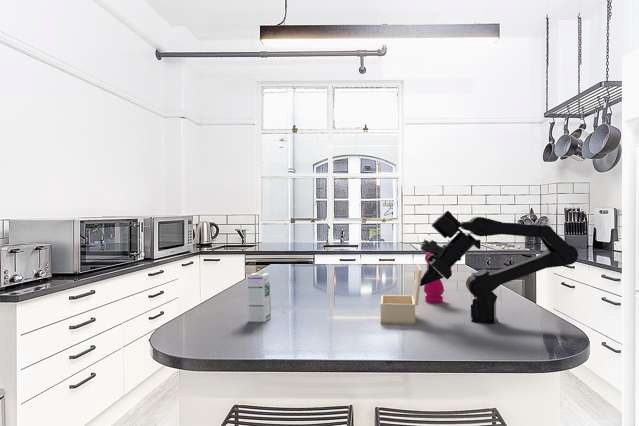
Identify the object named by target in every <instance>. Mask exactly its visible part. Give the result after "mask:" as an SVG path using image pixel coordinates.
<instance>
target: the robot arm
mask: <svg viewBox="0 0 639 426" xmlns="http://www.w3.org/2000/svg"><path fill="white" fill-rule="evenodd" d="M431 227H432V228H433V229H434V230H435V231H436V232H437V233H439V234H440V235H441V237H443V238H444V239H446V238H449V239H451V238H452V239H451V240H450V241H449V242H448V243H447V244H443V245H442V246H440V245H438V242H437V241H435V240H433V239H431V240H426V239H424V240H423V242H422V244H421V246H420V250H421V251H424V252H426V253H428V252H429V253H431V255H430V256H429V257H428V258H427V259H428V260H429V261H430V263H429V262H428V261H427V262H426V271H425V272H424V273H423V275H422V276H421V282H420V287H422V286H423V287H424V285H426V284H428V283H431V282H433V281H436V280H439V279H440V280H441V279H444V278H445V279H446V280H449V279H450V278H451V277H452V275H453V270H452V267H453V266H455V264H457V262H460V261H462V258H463V256H465V254H467V253H468V252H469V250H470V249H472V247H475V248H476V249H478V250H480V249H481V239H476V238H475V237H474V236H476V237H477V236H478V237H489V236H498V235H500V236H501V235H507V236H516V237H517V236H518V237H531V238H538V239H540V241H541V242H542V244H543V245H544V247H545V248H546V249H545V250H543V251H542V252H541V253H540V254H538V255H537V256H533V257H530V258H529V259H528V258H527V259H525V260H523V261H520V262H516V263H515V264H512V265H510V266H506V267H504V268H501V269H497V270H496V271H491V272H489V270H487V269H486V268H482V269H480V270H479V271H477V272H472V273H471V274H472V275H470V276H468V277H467V278H466V281H465V288H466V289H467V291H468V292H469V293H470V294H471V295H472V296H473V299H472V303H471V304H470V318H471V320H470V321H471V322H476V323H484V324H495V323H496V322H497V321H498V317H497V299H498V295H497V294H495V293H494V291H495V290H496V289H497V288H498V287H500V286H502V285H504V284H506V283H510V282H512V281H516V280H518V279H520V278H524V277H525V276H529V275H531V274H534V273H536V272H540V271H542V270H545V269H549V268H557V267H558V268H559V267H564V266H570V265H574V264H575V263H576V262H577V260H578V258H579V252H578V249H577V248H576V247H575V246H573V245H571V244H568V243H567V241H566V240H564V239H563V238H562V237H561V236H560V235H559V234H558V233H557V232H555V230H554V229H553V228H552V227H551V226H550V225H548V224H525V223H513V222H502V221H498V220H495V219H491V218H486V217H484V216H483V217H482V216H473V217H472V218H471V219H469V221H461V222H460V221H459V220H458V219H457V218H456V217H455V216H453V214H452V212H450V211H449V210H446V211H445V212H444V213H443V214H441V215H440V217H438V218H437V219H436V220H434V222H433V223H432V224H431ZM463 230H464V231H468V232H470V233H467V234H466V233H465V232H464V231H463ZM473 235H474V236H473Z"/></svg>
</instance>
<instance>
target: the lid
mask: <svg viewBox="0 0 639 426" xmlns="http://www.w3.org/2000/svg"><path fill="white" fill-rule="evenodd" d="M415 266H416V267H415V275H414V284H413V291H412V292H413V293H412V296H413V298H414V303H415V306H418V305H419V300H420V299H419V298H420V291H421V289H420V288H421V286H420V282H421V278H422V273H423V272H422V271H423V270H422V267H421V266H420V264H417V263H416V265H415Z"/></svg>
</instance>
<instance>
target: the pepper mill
mask: <svg viewBox="0 0 639 426" xmlns="http://www.w3.org/2000/svg"><path fill="white" fill-rule="evenodd" d="M430 255H431V253H429V252H426V254H425V256H424V261H425V262H426V263H427V261H428V262H429V263H430V261H429V260H428V259H427V258H428V257H429V256H430ZM423 292H424V293H425V294H426V295H425V297H424V299H425V303H428V304H429V303H430V304H440V303H443V301H444V298H443V296H442V295H443V293H444V292H445V288H444V284H443V282H442V280H441V279H439V280H436V281H433V282H431V283H428V284H426V285H423Z"/></svg>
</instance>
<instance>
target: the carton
mask: <svg viewBox="0 0 639 426" xmlns="http://www.w3.org/2000/svg"><path fill="white" fill-rule="evenodd" d="M380 325H397V326H398V325H400V326H401V325H404V326H405V325H406V326H408V325H410V326H411V325H412V326H415V325H416V305H415V302H414V298H413V295H405V294H404V295H398V294H397V295H395V294H394V295H392V294H389V295H387V294H386V295H385V294H383V295H381V297H380Z"/></svg>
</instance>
